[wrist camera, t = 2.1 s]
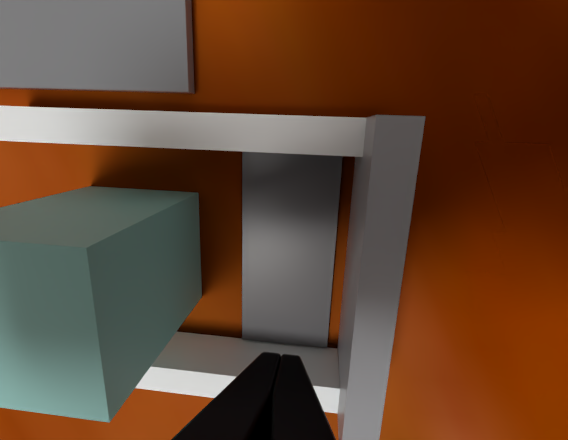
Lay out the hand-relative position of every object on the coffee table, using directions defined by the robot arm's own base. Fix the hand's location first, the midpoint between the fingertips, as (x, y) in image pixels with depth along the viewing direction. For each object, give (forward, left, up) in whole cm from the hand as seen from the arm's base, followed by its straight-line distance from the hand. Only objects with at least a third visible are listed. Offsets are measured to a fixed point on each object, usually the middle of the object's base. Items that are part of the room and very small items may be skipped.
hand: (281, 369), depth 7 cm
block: (+7, 0, -7) cm, 10 cm away
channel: (+5, 0, -7) cm, 9 cm away
